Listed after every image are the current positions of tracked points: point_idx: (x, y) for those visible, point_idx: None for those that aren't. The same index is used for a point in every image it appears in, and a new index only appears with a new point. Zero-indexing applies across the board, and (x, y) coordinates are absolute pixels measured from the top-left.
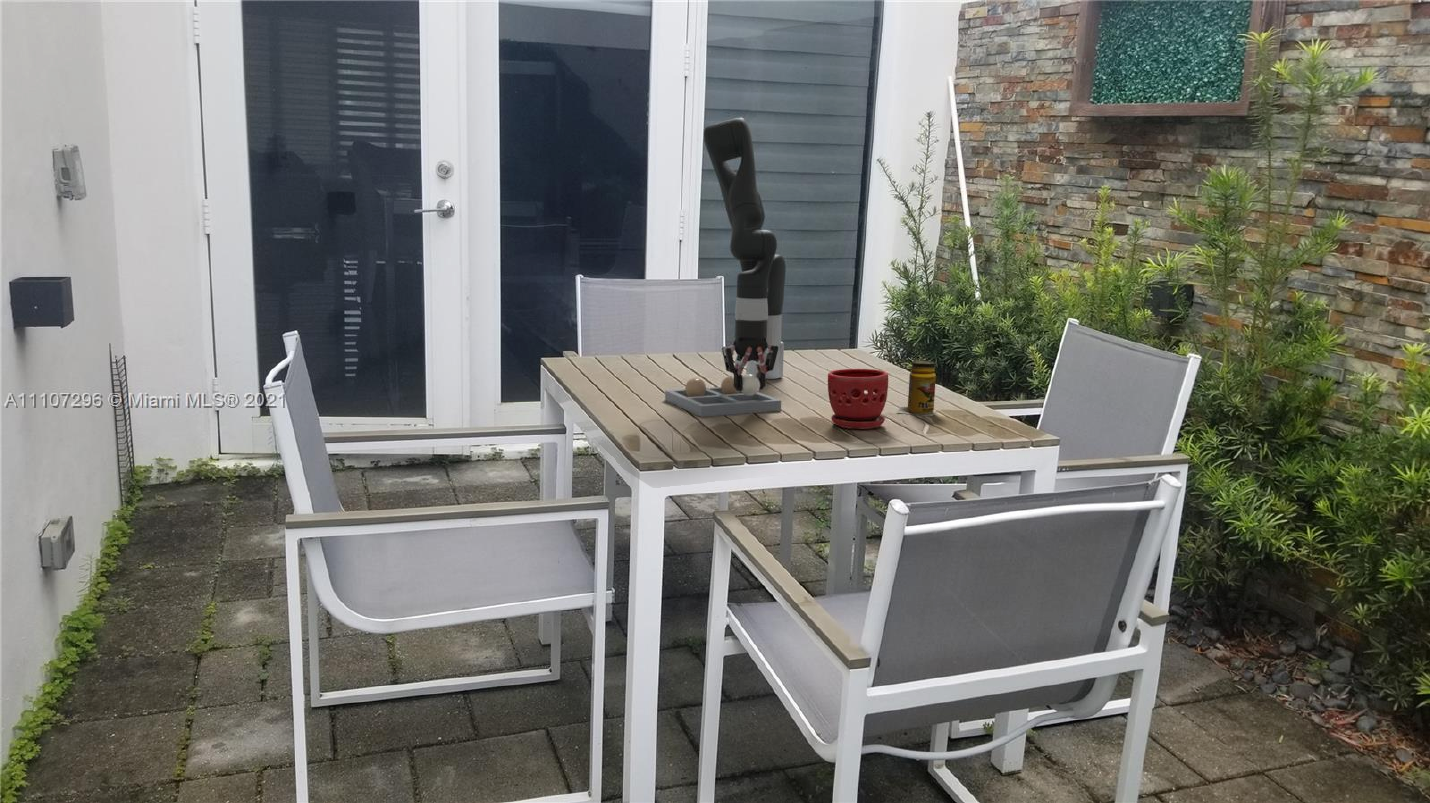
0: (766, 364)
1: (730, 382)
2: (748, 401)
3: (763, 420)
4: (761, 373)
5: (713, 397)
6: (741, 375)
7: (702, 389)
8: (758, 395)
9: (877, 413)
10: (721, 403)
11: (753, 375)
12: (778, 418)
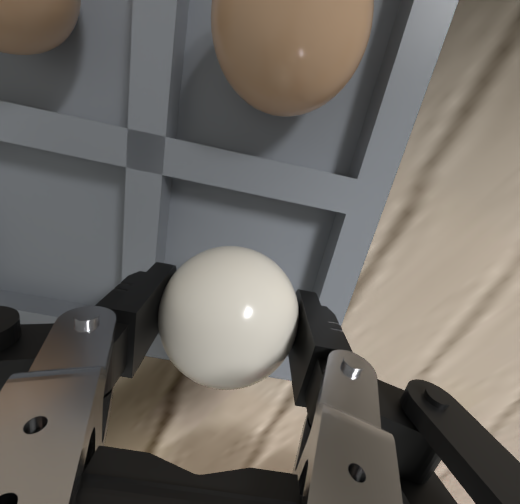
0: (432, 438)
1: (240, 73)
2: (272, 225)
3: (161, 423)
4: (309, 400)
5: (82, 156)
6: (122, 375)
7: (8, 49)
8: (337, 233)
9: None
10: (44, 314)
11: (237, 381)
12: (221, 424)
